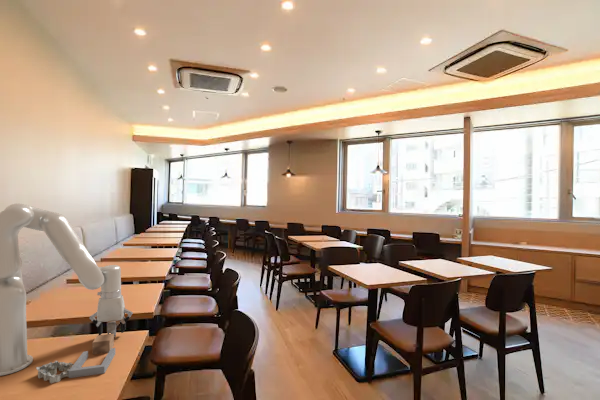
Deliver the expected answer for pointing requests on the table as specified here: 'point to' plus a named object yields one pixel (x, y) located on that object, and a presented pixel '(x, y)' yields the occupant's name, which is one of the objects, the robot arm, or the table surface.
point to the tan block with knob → (105, 340)
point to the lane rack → (90, 370)
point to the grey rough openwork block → (54, 371)
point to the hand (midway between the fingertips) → (111, 332)
